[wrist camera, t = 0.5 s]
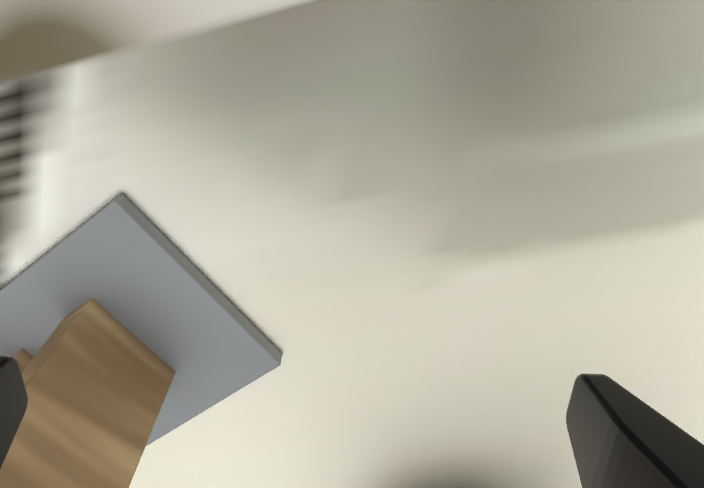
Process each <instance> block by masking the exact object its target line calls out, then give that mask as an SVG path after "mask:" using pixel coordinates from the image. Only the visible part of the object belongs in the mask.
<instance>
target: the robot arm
mask: <svg viewBox="0 0 704 488" xmlns="http://www.w3.org/2000/svg"><path fill="white" fill-rule="evenodd" d="M27 406H28V395H27V391H26V388H25V384H24V381H23V377H22V374H21V370H20V367H19V364H18V361H17V360H16V359H15V358H14V357H11V356H0V470H1V468H2V466H3V463H4V461H5V459H6V456H7V454H8V452H9V449H10V447H11V445H12V443H13V440H14V438H15V436H16V433H17V431H18V429H19V426H20V424H21V422H22V419H23V417H24V415H25V412H26V410H27ZM566 423H567V429H568V433H569V437H570V441H571V445H572V449H573V453H574V457H575V460H576V464H577V468H578V472H579V476H580V480H581V484H582V488H704V445H703V444H702V443H700V442H699V441H698V440H696V439H695V438H693V437H692V436H691V435H689V434H688V433H686V432H685V431H684V430H682V429H681V428H679V427H678V426H676V425H675V424H674V423H672V422H671V421H669V420H668V419H667V418H665V417H664V416H662V415H661V414H660V413H658V412H657V411H655V410H654V409H653V408H651V407H650V406H648V405H647V404H646V403H644V402H643V401H641V400H640V399H639V398H637V397H636V396H634V395H633V394H632V393H630V392H629V391H627V390H626V389H625V388H623V387H622V386H620V385H619V384H618V383H616V382H615V381H613V380H612V379H611V378H609V377H608V376H606V375H603V374H580V375H579V376H578V377H577V378H576V380H575V383H574V387H573V390H572V394H571V398H570V401H569V405H568V409H567V413H566Z"/></svg>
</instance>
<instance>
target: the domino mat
mask: <svg viewBox="0 0 704 488" xmlns="http://www.w3.org/2000/svg"><path fill="white" fill-rule="evenodd" d="M91 298H93V299H94V300H95V301H96V302H97V303H98V304H100V305H101V306H102V307H103V308H104V309H105V310H106V311H107V312H109V313H110V314H111V315H112V316H113V317H114V318H115V319H116V320H118V321H119V322H120V323H121V324H122V325H123V326H124V327H125V328H127V329H128V330H129V331H130V332H131V333H132V334H133V335H134V336H136V337H137V338H138V339H139V340H140V341H141V342H142V343H143V344H145V345H146V346H147V347H148V348H149V349H150V350H151V351H152V352H154V353H155V354H156V355H157V356H158V357H159V358H160V359H161V360H163V361H164V362H165V363H166V364H167V365H168V366H169V367H170V368H172V369H173V370H174V371H175V372H176V373H175V375H174V378H173V380H172V382H171V385H170V387H169V390H168V392H167V395H166V397H165V400H164V402H163V404H162V407H161V409H160V412H159V414H158V417H157V419H156V422H155V424H154V427H153V429H152V431H151V434H150V436H149V439H148V441H147V444H146V446H147V445H149V444H150V443H152V442H154V441H155V440H157V439H159V438H160V437H162V436H164V435H165V434H167V433H169V432H170V431H172V430H173V429H175V428H177V427H178V426H180V425H182V424H183V423H185V422H187V421H188V420H190V419H192V418H193V417H195V416H197V415H198V414H200V413H202V412H203V411H205V410H207V409H208V408H210V407H212V406H213V405H215V404H216V403H218V402H220V401H221V400H223V399H225V398H226V397H228V396H230V395H231V394H233V393H235V392H236V391H238V390H240V389H241V388H243V387H245V386H246V385H248V384H250V383H251V382H253V381H254V380H256V379H258V378H259V377H261V376H263V375H264V374H266V373H268V372H269V371H271V370H273V369H274V368H276V367H278V366H279V365H280V363H281V357H282V353H281V352H280V351H279V350H278V349H277V348H276V347H275V346H274V345H273V344H272V343H271V342H270V341H269V340H268V339H267V338H266V337H265V336H264V335H263V334H262V333H261V332H260V331H259V330H258V329H257V328H256V327H255V326H254V325H253V324H252V323H251V322H250V321H249V320H248V319H247V318H246V317H245V316H244V315H243V314H242V313H241V312H240V311H239V310H238V309H237V308H236V307H235V306H234V305H233V304H232V303H231V302H230V301H229V300H228V299H227V298H226V297H225V296H224V295H223V294H222V293H221V292H220V291H219V290H218V289H217V288H216V287H215V286H214V285H213V284H212V283H211V282H210V281H209V280H208V279H207V278H206V277H205V276H204V275H203V274H202V273H201V272H200V271H199V270H198V269H197V268H196V267H195V266H194V265H193V264H192V263H191V262H190V261H189V260H188V259H187V258H186V257H185V256H184V255H183V254H182V253H181V252H180V251H179V250H178V249H177V248H176V247H175V246H174V245H173V244H172V243H171V242H170V241H169V240H168V239H167V238H166V237H165V236H164V235H163V234H162V233H161V232H160V231H159V230H158V229H157V228H156V227H155V226H154V225H153V224H152V223H151V222H150V221H149V220H148V219H147V218H146V217H145V216H144V215H143V214H142V213H141V212H140V211H139V210H138V209H137V208H136V207H135V206H134V205H133V204H132V203H131V202H130V201H129V200H128V199H127V198H126V197H125V196H124V195H123V194H122V193H121V194H120V195H119V196H118V197H116V198H115V199H114V200H112V201H111V202H110V203H109V204H107V205H106V206H105V207H104V208H102V209H101V210H100V211H99V212H97V213H96V214H95V215H93V216H92V217H91V218H90V219H88V220H87V221H86V222H85V223H83V224H82V225H81V226H80V227H78V228H77V229H76V230H74V231H73V232H72V233H71V234H69V235H68V236H67V237H66V238H64V239H63V240H62V241H61V242H59V243H58V244H57V245H56V246H54V247H53V248H52V249H50V250H49V251H48V252H47V253H45V254H44V255H43V256H42V257H40V258H39V259H38V260H37V261H35V262H34V263H33V264H31V265H30V266H29V267H28V268H26V269H25V270H24V271H23V272H21V273H20V274H19V275H18V276H16V277H15V278H14V279H12V280H11V281H10V282H9V283H7V284H6V285H5V286H4V287H2V288H1V289H0V356H11V357H12V356H13V355H14V354H16V353H17V352H19V351H20V350H21V349H24V350H26V351H27V352H28V353H29V354H31V355H32V356H33V357H35V355H36V354H37V353H38V351H39V350H40V349H41V347H42V346H43V345H44V343H45V342H46V341H47V340H48V338H49V337H50V336H51V334H52V333H53V332H54V330H55V329H56V328H57V326H58V325H59V324H60V322H61V321H62V320H63V319H64V318H65V317H66V316H68V315H69V314H70V313H72V312H73V311H75V310H76V309H77V308H79V307H80V306H81V305H83V304H84V303H85V302H87V301H88V300H90V299H91Z"/></svg>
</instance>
